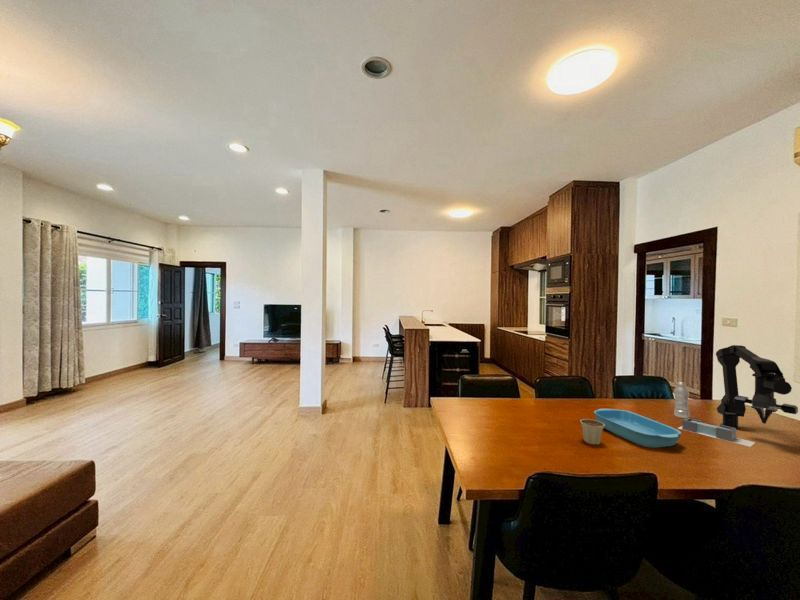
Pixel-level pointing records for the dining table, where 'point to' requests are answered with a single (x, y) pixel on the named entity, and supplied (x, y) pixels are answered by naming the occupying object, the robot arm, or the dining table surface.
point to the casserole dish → (637, 428)
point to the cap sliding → (726, 433)
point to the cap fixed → (690, 424)
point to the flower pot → (592, 431)
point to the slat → (707, 428)
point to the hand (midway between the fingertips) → (764, 423)
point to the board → (737, 440)
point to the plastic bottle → (681, 400)
